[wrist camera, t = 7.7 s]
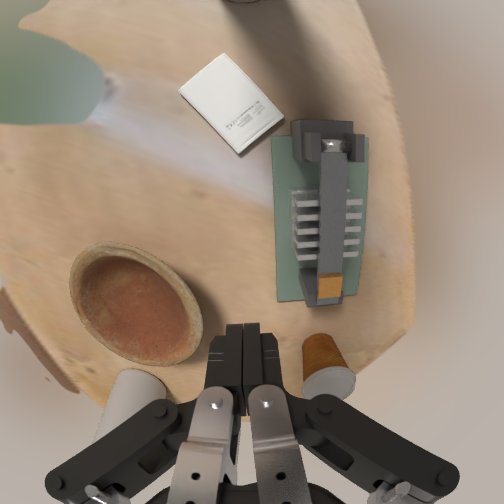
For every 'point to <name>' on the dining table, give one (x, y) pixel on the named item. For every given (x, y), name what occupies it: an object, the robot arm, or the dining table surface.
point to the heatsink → (307, 221)
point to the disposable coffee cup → (325, 369)
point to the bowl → (135, 304)
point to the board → (285, 175)
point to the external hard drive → (231, 102)
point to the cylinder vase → (128, 398)
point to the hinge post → (313, 131)
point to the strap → (332, 219)
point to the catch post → (311, 286)
